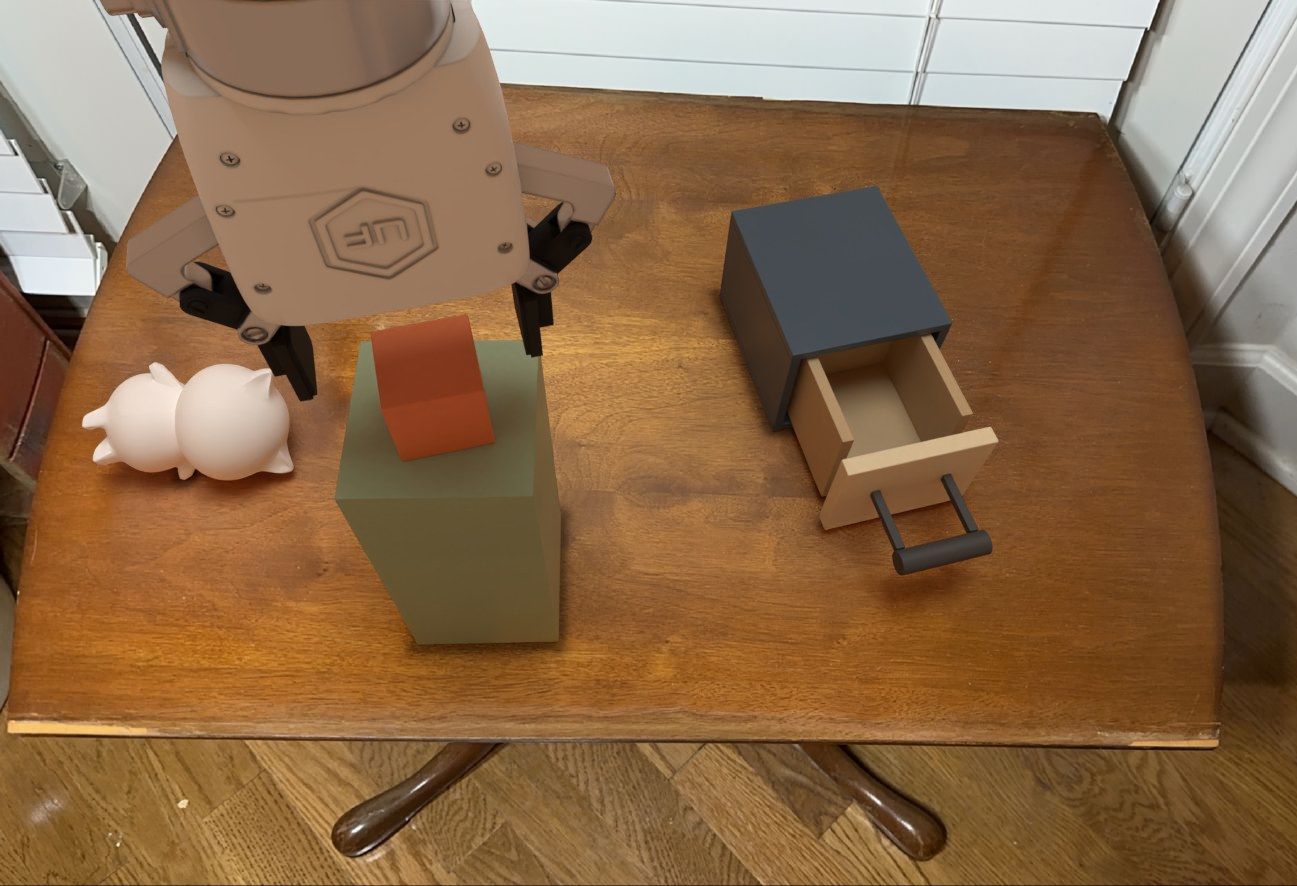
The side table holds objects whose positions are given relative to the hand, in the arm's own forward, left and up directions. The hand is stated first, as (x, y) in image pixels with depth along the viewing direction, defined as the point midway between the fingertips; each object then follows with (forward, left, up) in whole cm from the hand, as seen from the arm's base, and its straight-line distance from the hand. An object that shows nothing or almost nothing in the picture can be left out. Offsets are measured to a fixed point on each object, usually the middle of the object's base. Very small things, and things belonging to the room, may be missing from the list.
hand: (420, 352), depth 40 cm
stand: (0, 0, -25) cm, 25 cm away
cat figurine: (+11, +20, -25) cm, 34 cm away
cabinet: (+19, -24, -25) cm, 39 cm away
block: (0, 0, -5) cm, 5 cm away
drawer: (+7, -27, -24) cm, 37 cm away
